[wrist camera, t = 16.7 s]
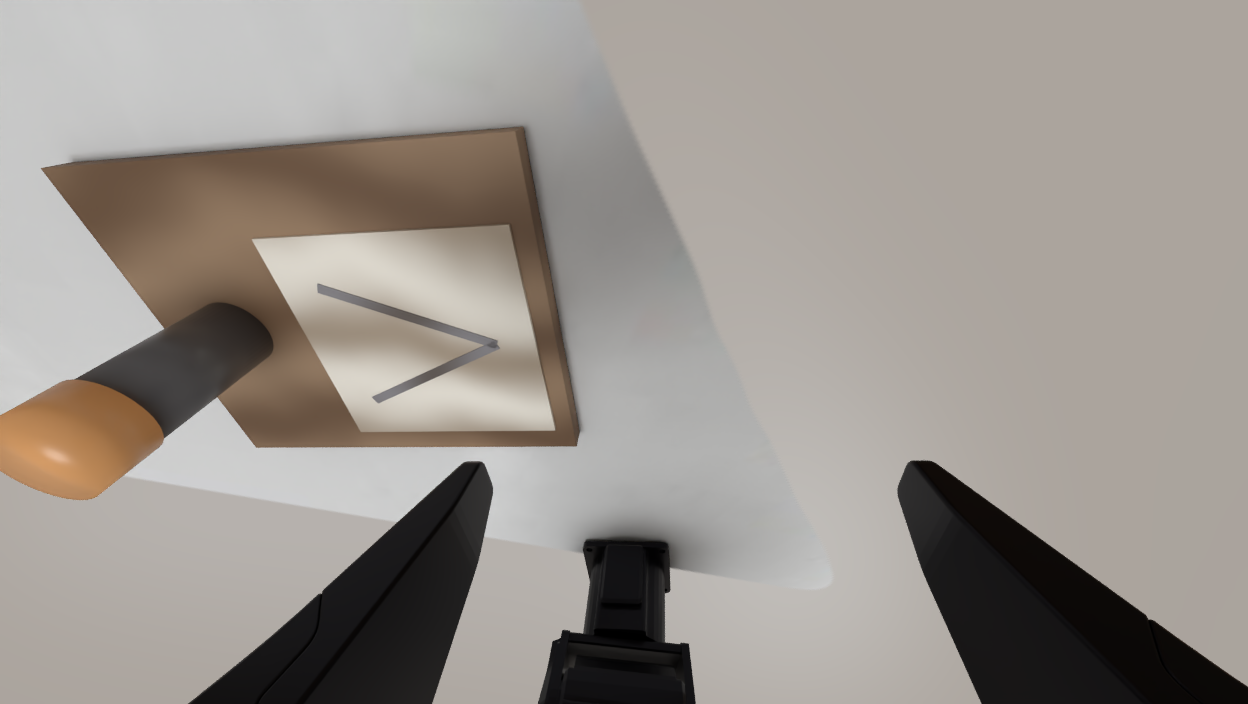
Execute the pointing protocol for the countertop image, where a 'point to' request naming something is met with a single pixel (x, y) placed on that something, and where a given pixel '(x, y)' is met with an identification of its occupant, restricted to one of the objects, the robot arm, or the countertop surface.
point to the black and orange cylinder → (128, 403)
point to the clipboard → (354, 282)
